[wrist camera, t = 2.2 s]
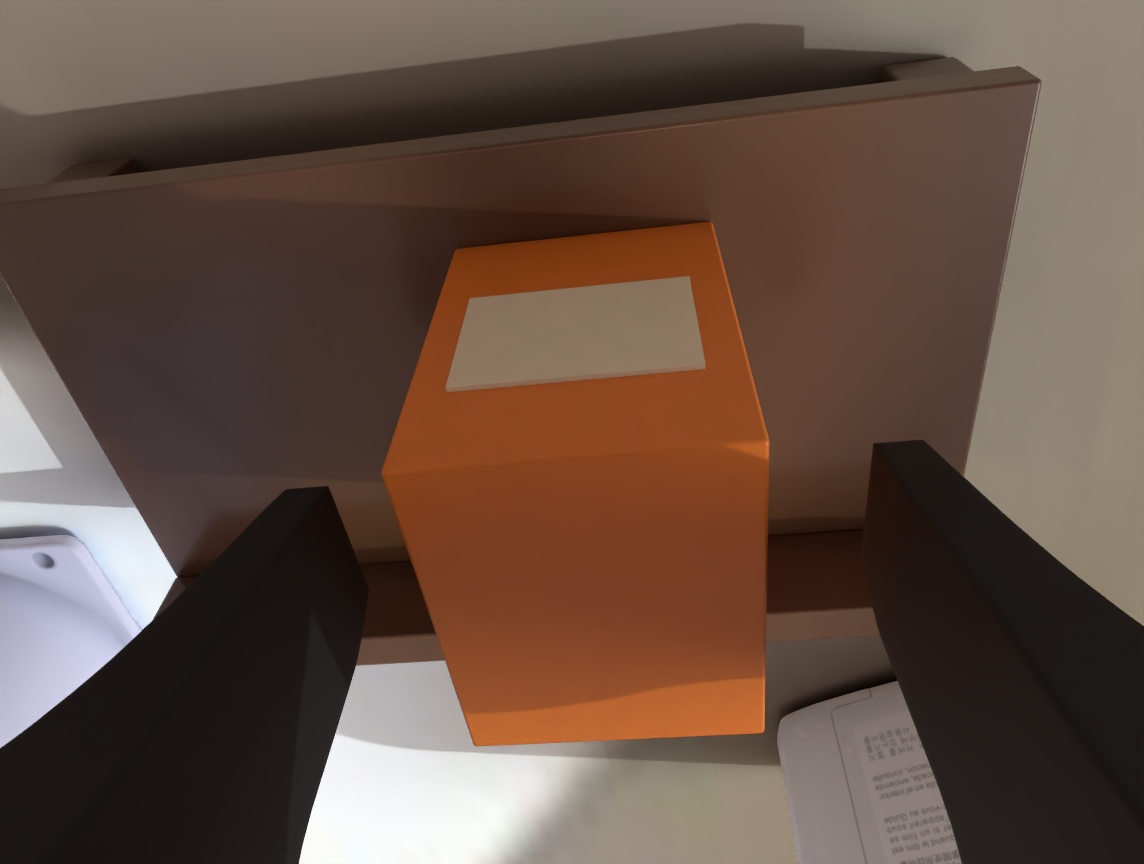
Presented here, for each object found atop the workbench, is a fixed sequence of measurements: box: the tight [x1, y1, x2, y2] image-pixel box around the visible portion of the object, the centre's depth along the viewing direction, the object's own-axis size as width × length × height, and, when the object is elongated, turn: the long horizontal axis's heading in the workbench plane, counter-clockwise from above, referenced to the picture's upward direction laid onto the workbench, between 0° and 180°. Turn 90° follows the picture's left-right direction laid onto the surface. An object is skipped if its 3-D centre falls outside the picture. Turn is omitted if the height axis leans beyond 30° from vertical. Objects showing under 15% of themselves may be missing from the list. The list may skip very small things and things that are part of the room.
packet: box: [381, 222, 769, 746], centre depth 12 cm, size 4×5×6 cm
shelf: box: [0, 57, 1041, 666], centre depth 15 cm, size 16×9×5 cm, turn 97°
